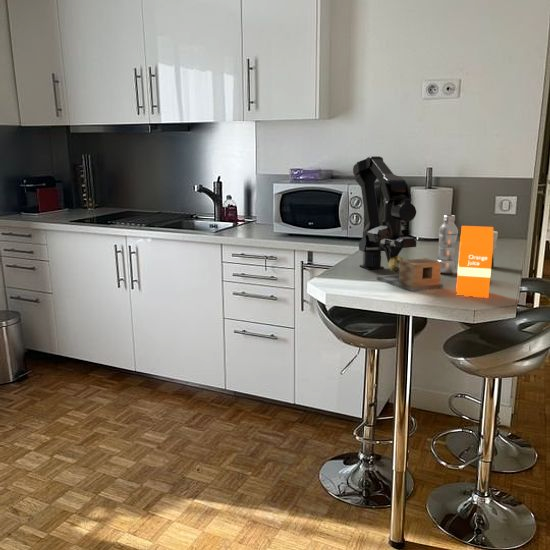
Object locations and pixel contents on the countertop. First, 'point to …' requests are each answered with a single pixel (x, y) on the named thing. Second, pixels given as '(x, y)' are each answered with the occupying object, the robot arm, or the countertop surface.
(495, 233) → the character mug
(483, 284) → the orange juice
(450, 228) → the plastic bottle
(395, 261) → the shaft
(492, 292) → the countertop surface
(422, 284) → the bearing block
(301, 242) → the countertop surface
